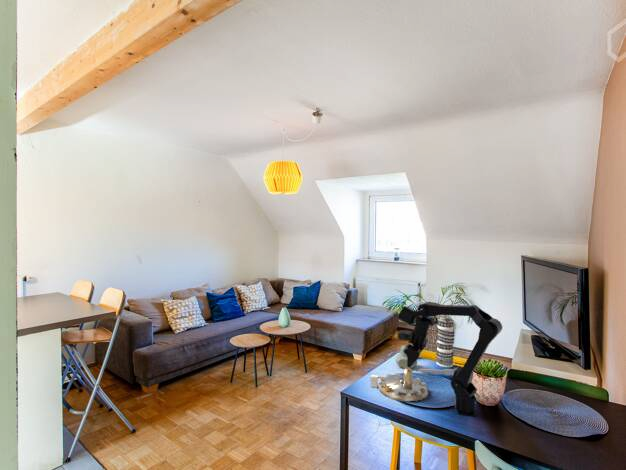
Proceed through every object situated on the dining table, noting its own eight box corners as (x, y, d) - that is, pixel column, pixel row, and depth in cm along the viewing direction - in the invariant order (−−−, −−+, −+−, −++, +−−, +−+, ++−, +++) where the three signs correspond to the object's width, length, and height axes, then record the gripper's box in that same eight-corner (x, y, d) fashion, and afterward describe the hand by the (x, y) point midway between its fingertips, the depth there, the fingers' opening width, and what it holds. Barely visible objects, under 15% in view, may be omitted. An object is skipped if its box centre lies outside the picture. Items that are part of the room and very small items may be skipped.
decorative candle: (433, 360, 188) (434, 314, 188) (451, 361, 187) (452, 315, 187) (437, 367, 179) (438, 319, 178) (456, 368, 178) (457, 319, 178)
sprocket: (425, 379, 159) (425, 359, 159) (426, 399, 140) (427, 376, 140) (382, 374, 164) (382, 354, 164) (378, 392, 146) (379, 370, 146)
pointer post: (381, 386, 156) (382, 375, 156) (381, 388, 154) (381, 378, 154) (371, 384, 157) (371, 374, 157) (370, 386, 155) (370, 376, 155)
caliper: (460, 381, 163) (460, 368, 163) (459, 382, 162) (460, 368, 162) (417, 370, 174) (417, 358, 174) (416, 371, 173) (416, 359, 173)
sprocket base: (426, 383, 160) (426, 380, 160) (429, 405, 139) (429, 401, 139) (380, 377, 165) (380, 374, 165) (376, 397, 145) (376, 394, 145)
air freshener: (417, 365, 181) (418, 346, 181) (416, 371, 173) (416, 351, 173) (396, 362, 185) (396, 343, 185) (394, 367, 177) (394, 348, 177)
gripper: (407, 317, 159) (399, 347, 162) (396, 329, 143) (387, 362, 146) (432, 326, 154) (422, 358, 157) (423, 340, 138) (412, 375, 141)
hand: (411, 362), depth 150 cm, fingers open, 9 cm apart
